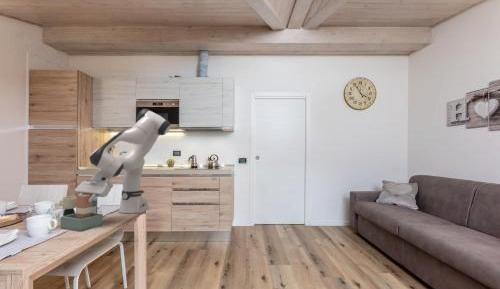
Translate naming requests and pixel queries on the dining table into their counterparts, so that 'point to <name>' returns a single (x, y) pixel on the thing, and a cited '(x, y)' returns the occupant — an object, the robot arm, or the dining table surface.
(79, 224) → the tray
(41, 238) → the dining table surface
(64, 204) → the character mug
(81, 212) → the salmon pink two-tone box
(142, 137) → the robot arm
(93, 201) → the syrup box
